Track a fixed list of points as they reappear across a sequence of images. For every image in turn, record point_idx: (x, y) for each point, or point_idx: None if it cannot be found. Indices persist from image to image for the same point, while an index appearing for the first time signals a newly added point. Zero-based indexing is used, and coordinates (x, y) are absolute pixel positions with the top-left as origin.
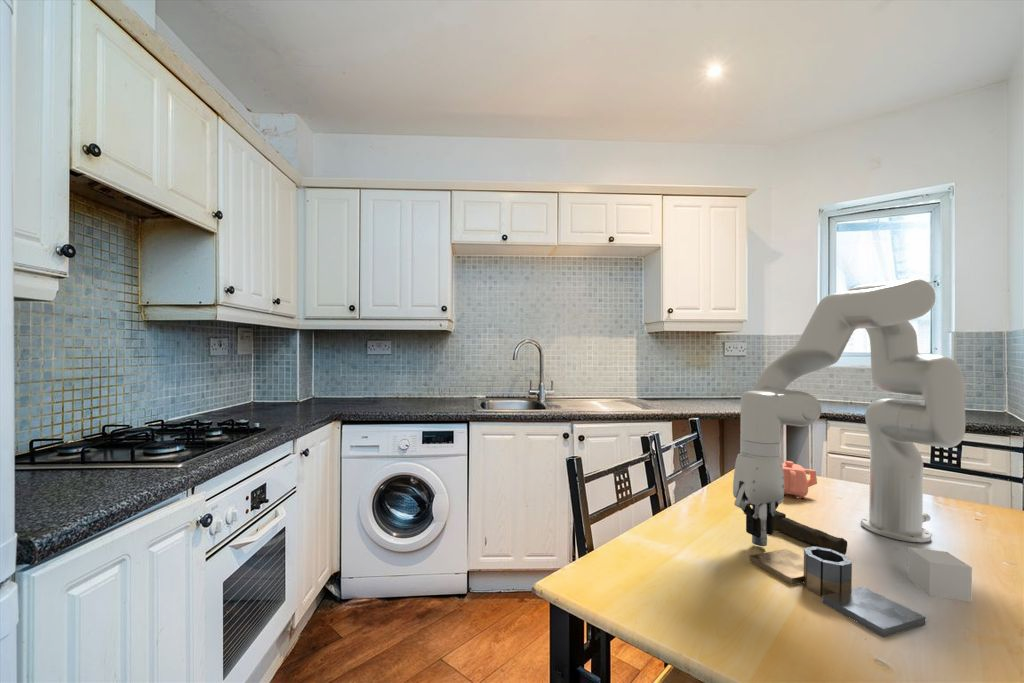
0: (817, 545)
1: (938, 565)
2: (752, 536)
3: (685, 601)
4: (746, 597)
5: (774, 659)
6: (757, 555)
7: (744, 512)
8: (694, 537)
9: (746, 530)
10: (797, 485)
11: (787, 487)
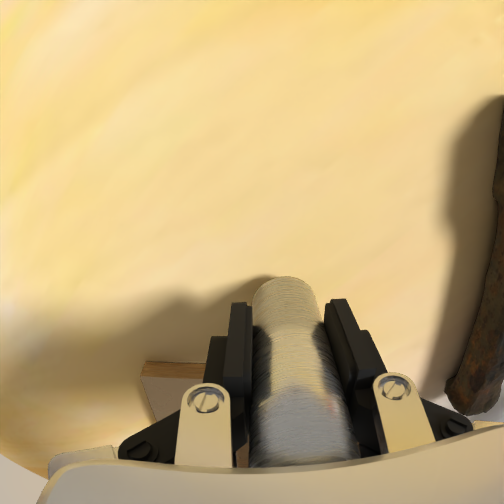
0: (467, 348)
1: None
2: (255, 309)
3: None
4: (56, 429)
5: (46, 473)
6: (169, 384)
7: (185, 401)
8: (54, 140)
9: (231, 306)
10: None
11: None
